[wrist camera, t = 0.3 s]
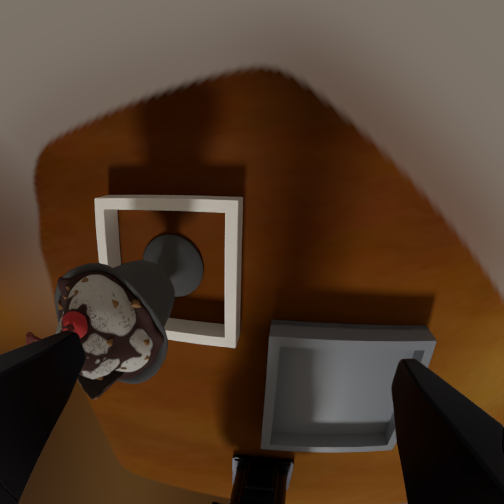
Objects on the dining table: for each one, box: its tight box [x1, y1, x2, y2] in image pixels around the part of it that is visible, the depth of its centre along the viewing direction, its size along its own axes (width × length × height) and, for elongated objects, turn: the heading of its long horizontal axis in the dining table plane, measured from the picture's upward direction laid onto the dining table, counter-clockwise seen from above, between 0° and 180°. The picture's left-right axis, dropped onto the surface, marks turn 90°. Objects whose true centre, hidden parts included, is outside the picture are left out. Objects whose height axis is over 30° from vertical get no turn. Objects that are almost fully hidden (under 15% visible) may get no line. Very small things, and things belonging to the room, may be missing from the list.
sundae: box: [26, 234, 203, 400], centre depth 17 cm, size 7×7×15 cm
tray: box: [261, 319, 437, 452], centre depth 24 cm, size 13×13×2 cm
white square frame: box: [95, 195, 243, 348], centre depth 23 cm, size 11×11×2 cm
